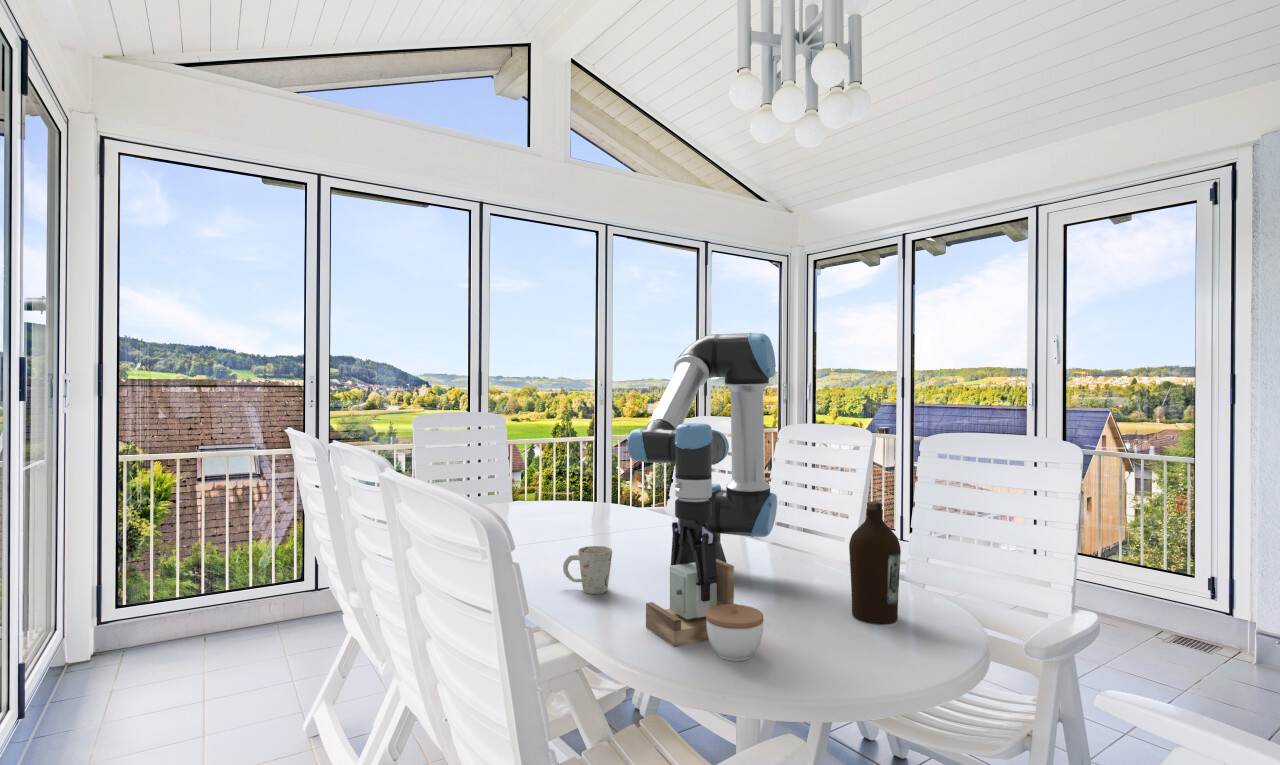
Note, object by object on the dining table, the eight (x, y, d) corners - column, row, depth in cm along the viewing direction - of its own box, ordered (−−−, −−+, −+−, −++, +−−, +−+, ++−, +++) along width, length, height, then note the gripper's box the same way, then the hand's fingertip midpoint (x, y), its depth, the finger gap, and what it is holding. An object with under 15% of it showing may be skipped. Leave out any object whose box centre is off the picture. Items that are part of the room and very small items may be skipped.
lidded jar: (700, 644, 130) (701, 596, 130) (755, 643, 131) (755, 595, 131) (711, 667, 119) (711, 614, 119) (770, 665, 120) (770, 613, 120)
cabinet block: (698, 604, 142) (698, 561, 142) (716, 614, 136) (716, 569, 136) (664, 609, 138) (664, 566, 139) (681, 620, 132) (681, 574, 132)
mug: (607, 596, 160) (607, 554, 160) (557, 593, 162) (557, 552, 162) (615, 586, 168) (615, 546, 168) (567, 583, 170) (567, 544, 170)
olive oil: (842, 619, 145) (842, 503, 145) (857, 606, 153) (857, 497, 154) (893, 629, 139) (893, 508, 139) (906, 615, 147) (906, 502, 148)
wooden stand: (702, 617, 145) (702, 552, 146) (733, 635, 135) (733, 565, 135) (645, 627, 139) (646, 559, 139) (674, 646, 128) (674, 573, 129)
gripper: (654, 493, 145) (654, 599, 145) (703, 507, 127) (703, 628, 127) (684, 490, 148) (683, 594, 148) (736, 504, 130) (735, 622, 130)
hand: (692, 610), depth 137 cm, fingers closed on cabinet block, 7 cm apart
